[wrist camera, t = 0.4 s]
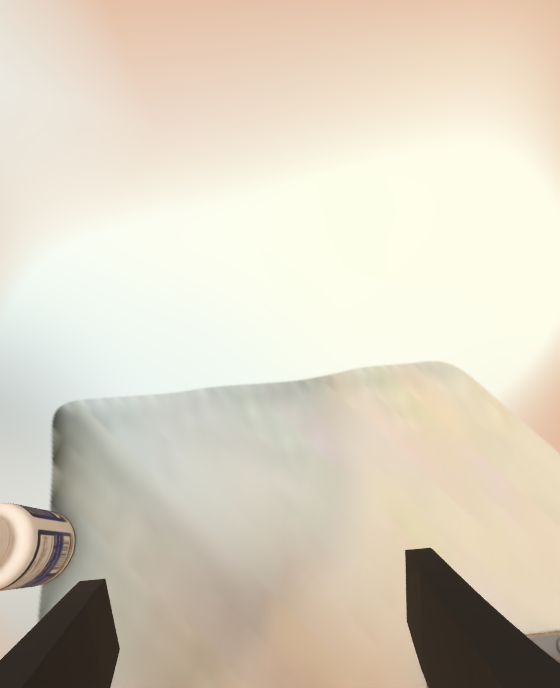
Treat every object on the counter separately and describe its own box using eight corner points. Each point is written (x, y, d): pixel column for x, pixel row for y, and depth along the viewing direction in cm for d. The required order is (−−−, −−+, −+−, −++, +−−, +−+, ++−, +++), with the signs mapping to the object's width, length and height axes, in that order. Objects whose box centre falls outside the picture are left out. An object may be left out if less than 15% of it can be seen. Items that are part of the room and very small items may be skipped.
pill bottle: (-4, 538, 35) (-96, 531, 26) (60, 498, 36) (-7, 479, 27) (20, 602, 33) (-71, 619, 24) (87, 557, 34) (24, 557, 25)
